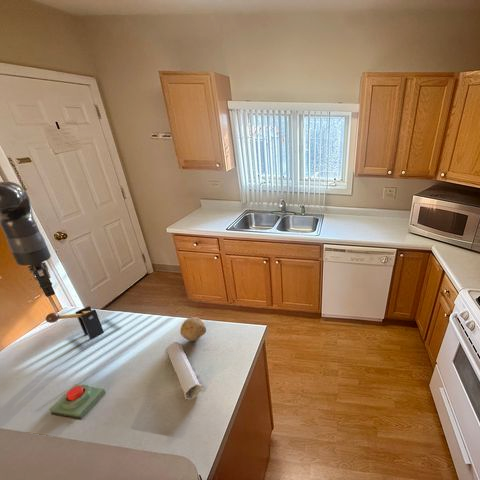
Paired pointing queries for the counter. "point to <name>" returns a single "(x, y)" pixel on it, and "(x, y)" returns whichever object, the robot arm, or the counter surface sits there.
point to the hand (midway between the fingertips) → (48, 290)
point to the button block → (78, 402)
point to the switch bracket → (90, 323)
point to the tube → (184, 371)
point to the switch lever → (62, 316)
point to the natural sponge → (192, 329)
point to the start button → (75, 393)
